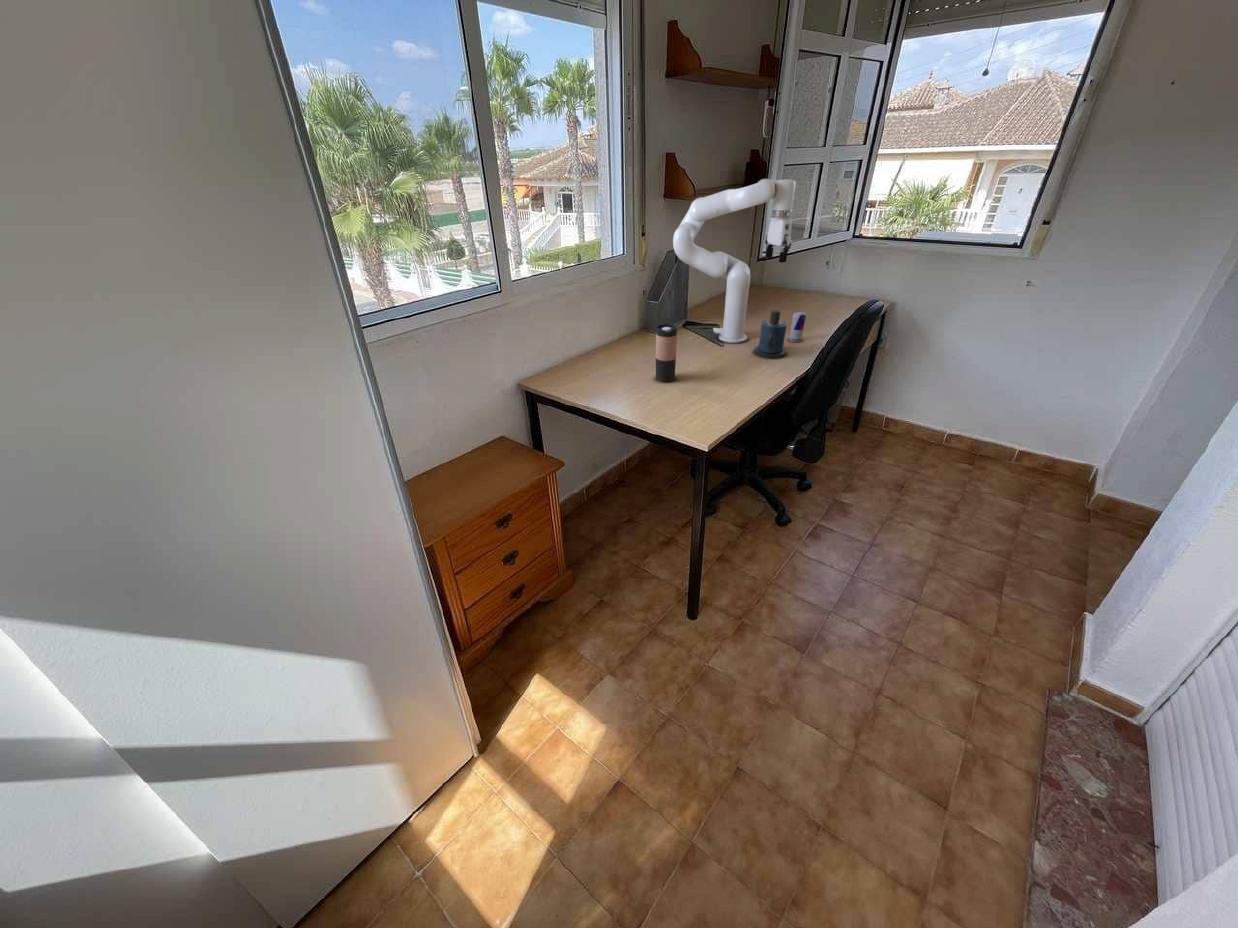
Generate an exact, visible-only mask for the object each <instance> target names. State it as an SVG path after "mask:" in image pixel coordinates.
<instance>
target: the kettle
mask: <svg viewBox="0 0 1238 928" xmlns="http://www.w3.org/2000/svg"><path fill="white" fill-rule="evenodd" d="M769 317H770V318H769V319H765V320H762V321H761V324H760V333H759V341H758V346H759V347H758V349H759V350H760V351H763V352H766V353H779V352H781V351H783V348H784V345H785V338H786V332H787V325H788V324H787V322H786V321H783V320H780V318H781V310H778V309H773V310H771V311H770V316H769Z"/></svg>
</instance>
